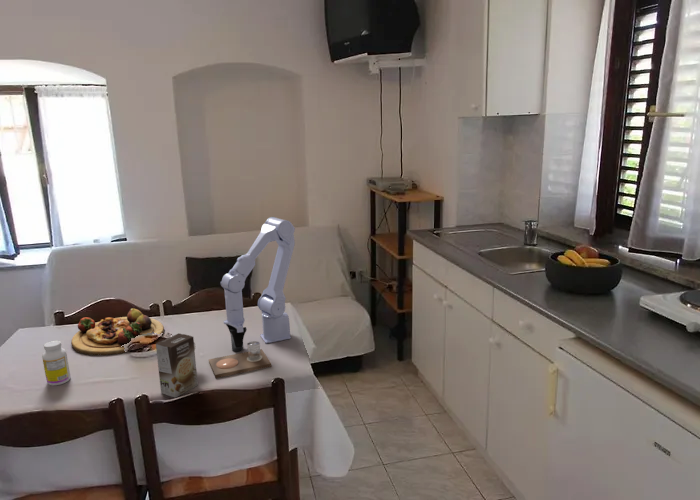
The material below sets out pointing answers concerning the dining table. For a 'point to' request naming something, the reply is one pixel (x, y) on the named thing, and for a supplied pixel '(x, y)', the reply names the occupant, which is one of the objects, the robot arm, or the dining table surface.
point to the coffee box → (176, 364)
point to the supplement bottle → (55, 363)
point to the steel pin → (235, 346)
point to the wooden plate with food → (112, 333)
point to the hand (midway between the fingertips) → (237, 344)
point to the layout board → (240, 361)
